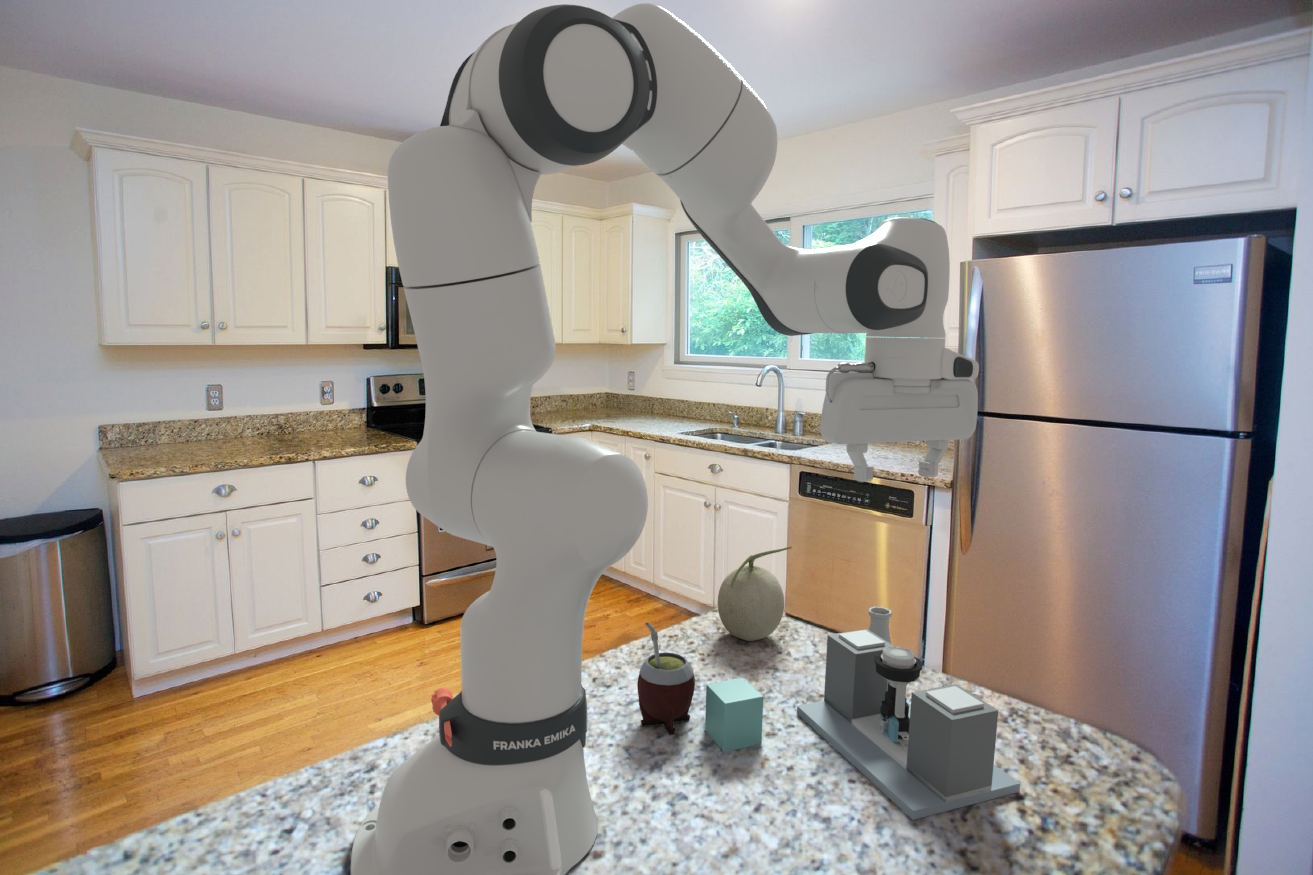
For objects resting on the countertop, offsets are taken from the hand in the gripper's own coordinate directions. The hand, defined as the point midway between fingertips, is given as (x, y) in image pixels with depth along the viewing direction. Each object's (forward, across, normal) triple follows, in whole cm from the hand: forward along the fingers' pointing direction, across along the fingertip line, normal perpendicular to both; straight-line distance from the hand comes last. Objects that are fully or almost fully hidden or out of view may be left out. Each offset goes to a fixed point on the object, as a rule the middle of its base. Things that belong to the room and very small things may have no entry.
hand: (896, 478), depth 88 cm
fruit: (+31, -4, +28) cm, 42 cm away
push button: (+30, -2, -6) cm, 30 cm away
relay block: (+25, -19, +3) cm, 32 cm away
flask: (+31, +7, +10) cm, 34 cm away
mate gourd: (+31, -26, +8) cm, 41 cm away
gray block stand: (+31, -2, -6) cm, 32 cm away
